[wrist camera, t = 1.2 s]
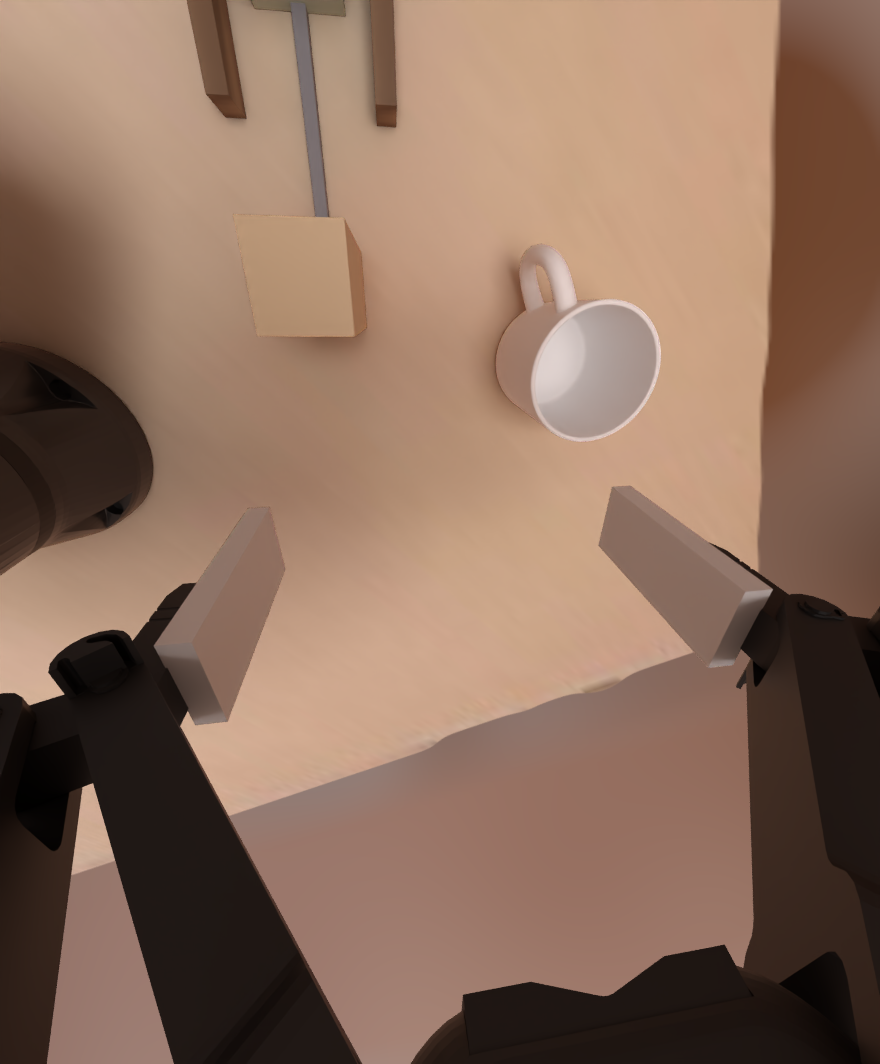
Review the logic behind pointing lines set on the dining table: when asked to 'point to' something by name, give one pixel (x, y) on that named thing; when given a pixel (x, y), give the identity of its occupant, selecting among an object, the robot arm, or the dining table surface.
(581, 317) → the cup
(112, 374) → the dining table surface
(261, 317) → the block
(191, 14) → the lane
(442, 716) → the dining table surface
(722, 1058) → the robot arm
